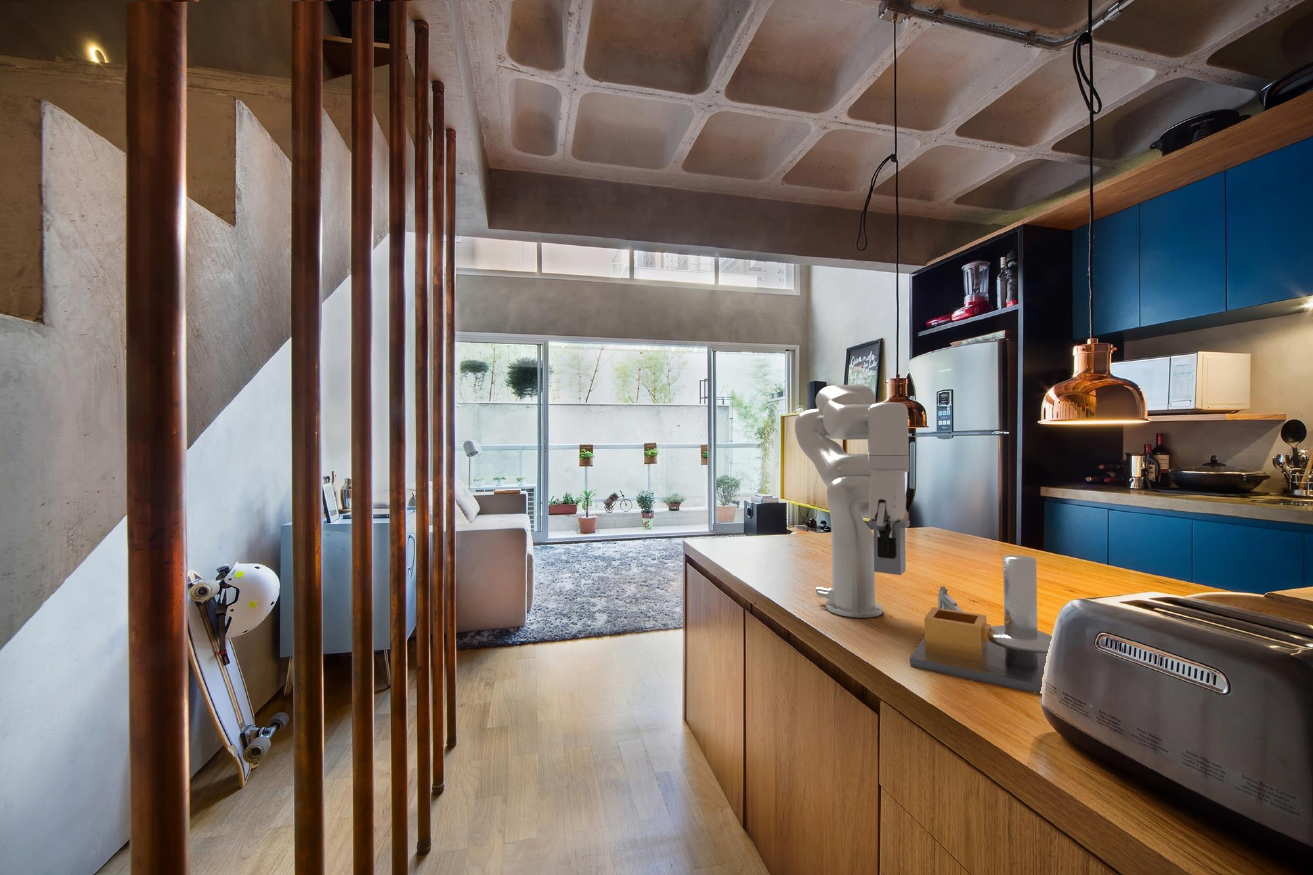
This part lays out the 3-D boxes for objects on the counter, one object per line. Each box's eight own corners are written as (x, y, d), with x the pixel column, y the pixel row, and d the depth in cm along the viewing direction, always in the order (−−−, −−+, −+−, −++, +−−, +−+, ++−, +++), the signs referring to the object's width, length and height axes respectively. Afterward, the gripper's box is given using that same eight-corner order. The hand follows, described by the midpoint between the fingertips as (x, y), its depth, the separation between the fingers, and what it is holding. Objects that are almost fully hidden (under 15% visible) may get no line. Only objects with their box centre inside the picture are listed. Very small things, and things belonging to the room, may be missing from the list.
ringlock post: (910, 666, 97) (908, 556, 97) (929, 636, 112) (928, 540, 112) (1056, 697, 85) (1054, 571, 85) (1057, 660, 99) (1055, 552, 99)
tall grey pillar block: (869, 571, 110) (868, 520, 110) (875, 567, 113) (874, 518, 113) (905, 575, 106) (905, 523, 106) (910, 571, 109) (909, 520, 109)
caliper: (937, 611, 129) (937, 584, 129) (942, 611, 129) (942, 584, 129) (983, 643, 109) (983, 611, 109) (989, 643, 109) (989, 611, 109)
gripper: (880, 462, 119) (881, 547, 119) (856, 465, 105) (857, 561, 105) (917, 463, 114) (919, 551, 114) (897, 466, 101) (899, 565, 101)
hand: (889, 554), depth 110 cm, fingers closed on tall grey pillar block, 4 cm apart
